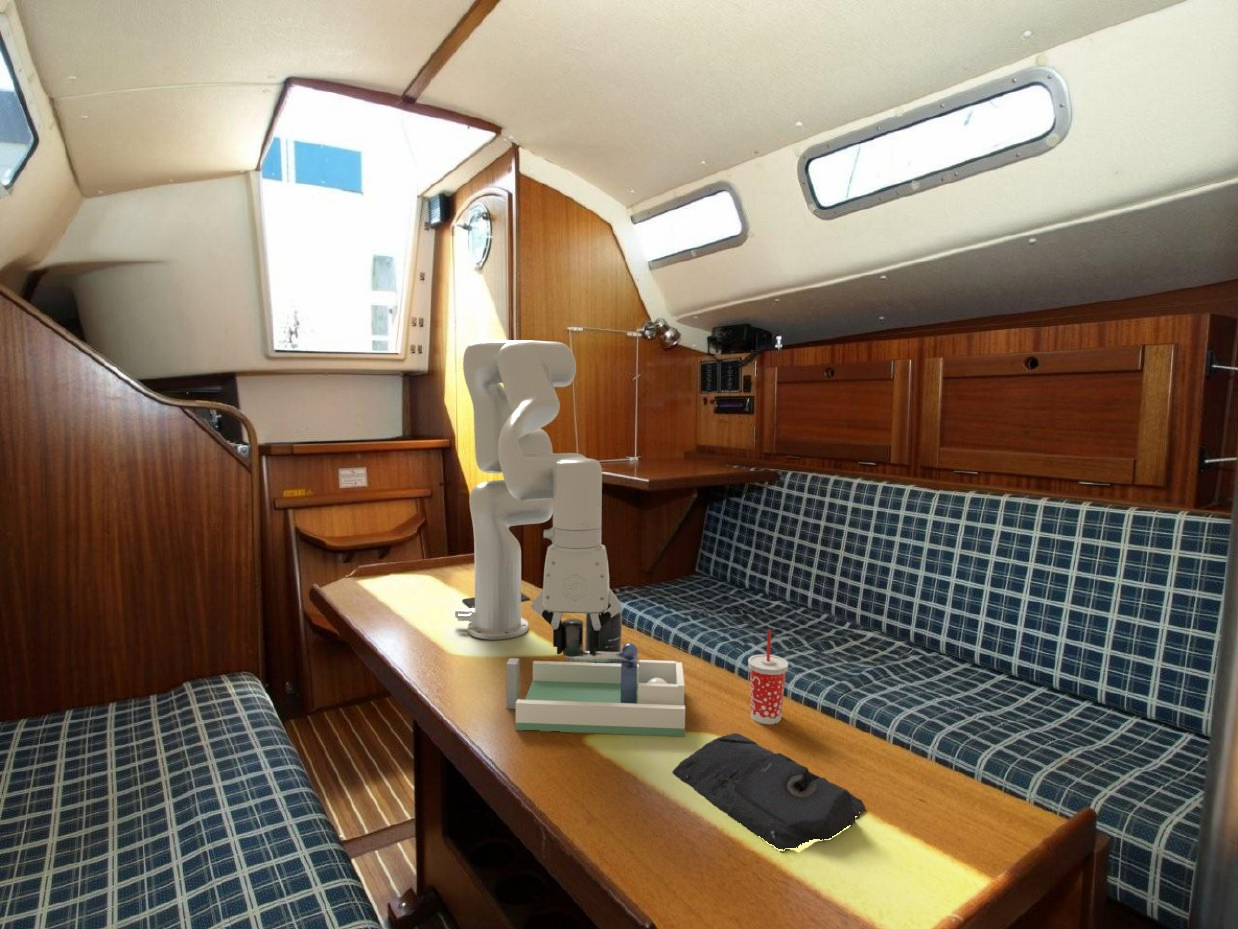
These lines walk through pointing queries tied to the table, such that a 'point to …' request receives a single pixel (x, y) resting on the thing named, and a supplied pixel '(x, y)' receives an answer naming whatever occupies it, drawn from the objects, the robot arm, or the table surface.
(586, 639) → the supplement bottle
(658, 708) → the pitch
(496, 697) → the table surface
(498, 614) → the robot arm
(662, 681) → the ball
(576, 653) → the table football player
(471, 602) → the smartphone
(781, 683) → the beverage cup
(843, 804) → the dark slate chunk
